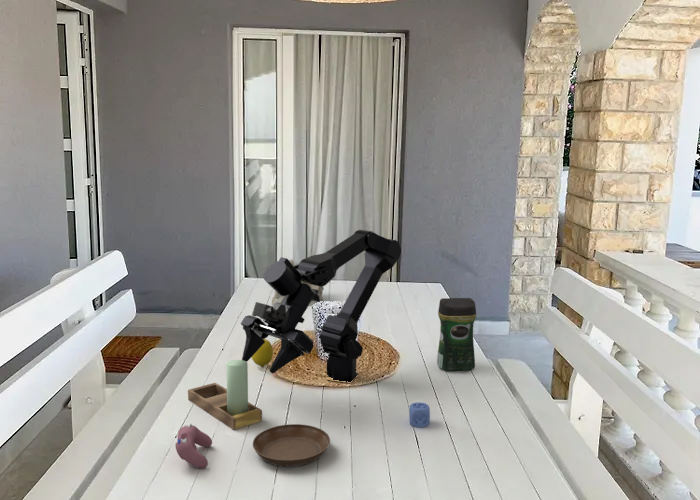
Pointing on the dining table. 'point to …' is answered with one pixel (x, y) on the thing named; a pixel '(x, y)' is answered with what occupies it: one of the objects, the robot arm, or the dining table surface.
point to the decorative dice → (419, 414)
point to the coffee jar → (456, 334)
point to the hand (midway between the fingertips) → (256, 367)
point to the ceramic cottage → (320, 289)
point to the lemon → (263, 354)
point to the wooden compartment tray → (222, 406)
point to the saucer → (291, 444)
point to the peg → (237, 387)
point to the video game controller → (192, 445)
